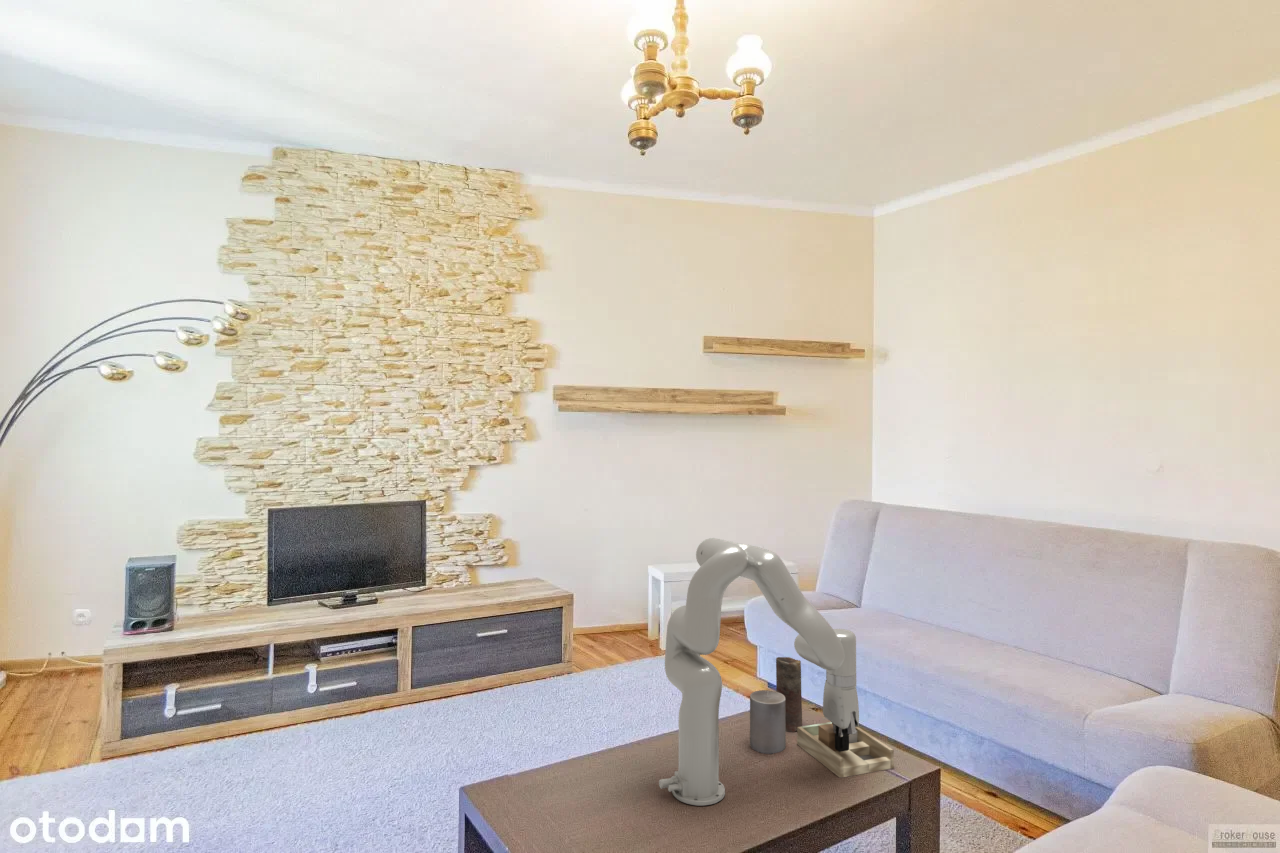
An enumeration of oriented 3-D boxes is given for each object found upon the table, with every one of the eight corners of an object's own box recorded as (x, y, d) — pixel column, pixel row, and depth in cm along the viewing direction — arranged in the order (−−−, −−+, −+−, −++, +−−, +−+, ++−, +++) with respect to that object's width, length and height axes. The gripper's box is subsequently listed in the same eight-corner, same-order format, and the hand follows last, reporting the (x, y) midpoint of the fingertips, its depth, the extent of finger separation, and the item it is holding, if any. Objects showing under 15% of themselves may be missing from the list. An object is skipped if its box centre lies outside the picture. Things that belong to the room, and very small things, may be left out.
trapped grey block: (845, 751, 190) (845, 734, 191) (833, 744, 194) (833, 728, 194) (857, 747, 193) (857, 731, 193) (845, 741, 197) (845, 725, 197)
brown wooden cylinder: (772, 723, 210) (772, 655, 210) (795, 721, 211) (795, 654, 211) (782, 734, 202) (782, 663, 202) (806, 732, 203) (806, 662, 204)
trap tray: (840, 779, 176) (840, 758, 176) (797, 745, 195) (797, 727, 195) (893, 769, 181) (893, 749, 181) (846, 737, 200) (846, 719, 200)
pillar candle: (753, 736, 200) (753, 683, 200) (788, 741, 197) (788, 687, 197) (746, 751, 191) (746, 696, 191) (783, 757, 188) (783, 700, 188)
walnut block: (828, 752, 185) (828, 733, 185) (818, 744, 190) (818, 725, 190) (845, 749, 187) (845, 730, 187) (834, 741, 191) (834, 723, 191)
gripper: (812, 671, 189) (813, 740, 189) (845, 690, 175) (846, 765, 175) (837, 668, 192) (837, 736, 192) (871, 686, 178) (872, 760, 178)
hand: (842, 749), depth 183 cm, fingers closed
